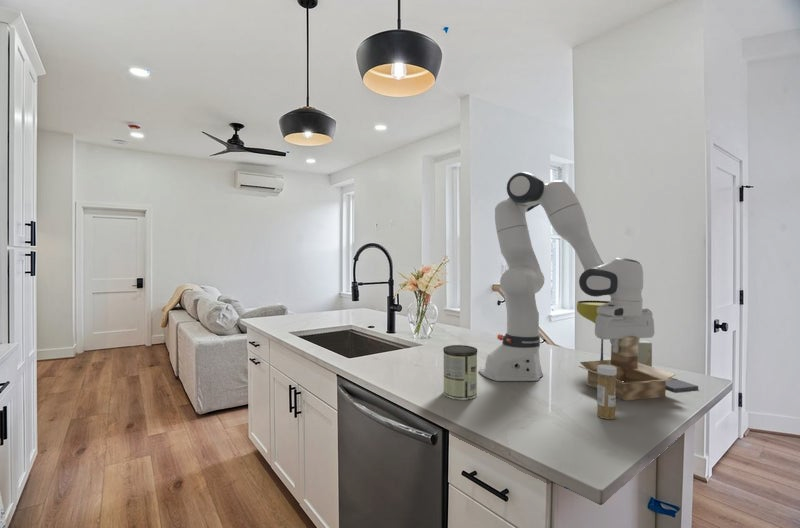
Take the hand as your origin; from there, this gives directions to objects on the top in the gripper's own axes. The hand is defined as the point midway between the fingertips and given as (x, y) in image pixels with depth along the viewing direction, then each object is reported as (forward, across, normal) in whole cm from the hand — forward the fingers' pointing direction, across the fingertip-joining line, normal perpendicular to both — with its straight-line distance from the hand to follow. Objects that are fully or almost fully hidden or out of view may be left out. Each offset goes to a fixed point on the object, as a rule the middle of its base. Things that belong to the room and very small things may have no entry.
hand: (624, 352), depth 126 cm
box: (+12, -24, -16) cm, 31 cm away
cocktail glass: (+12, -11, -22) cm, 27 cm away
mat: (+12, -19, 0) cm, 23 cm away
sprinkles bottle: (+12, +22, +16) cm, 30 cm away
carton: (+12, 0, 0) cm, 12 cm away
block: (+5, 0, 0) cm, 5 cm away
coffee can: (+13, +53, -8) cm, 55 cm away
